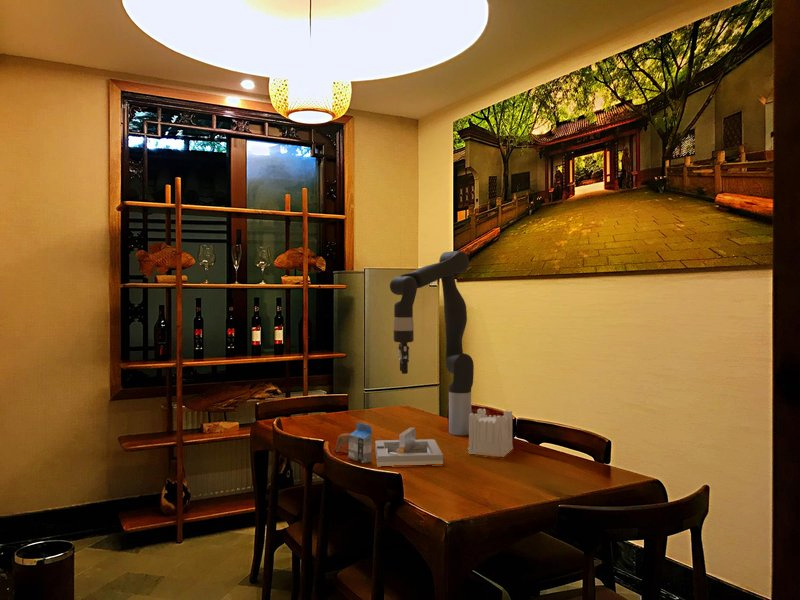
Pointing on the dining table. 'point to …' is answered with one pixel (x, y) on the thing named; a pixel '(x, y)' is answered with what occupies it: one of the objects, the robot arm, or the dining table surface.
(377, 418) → the dining table surface
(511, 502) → the dining table surface
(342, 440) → the lion figurine
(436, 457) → the housing
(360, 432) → the label tape box
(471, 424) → the castle model
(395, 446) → the dial
